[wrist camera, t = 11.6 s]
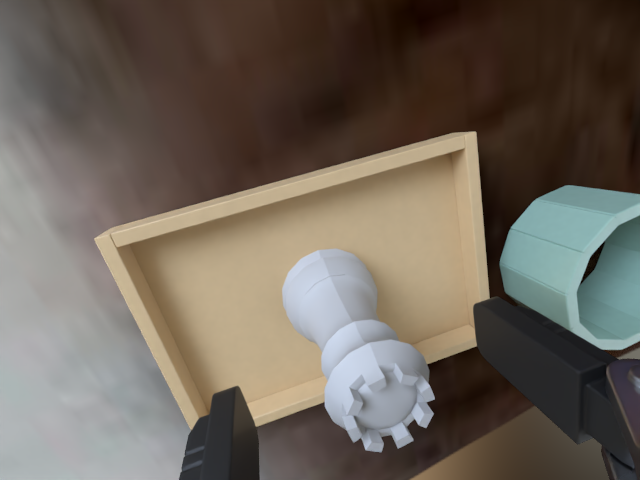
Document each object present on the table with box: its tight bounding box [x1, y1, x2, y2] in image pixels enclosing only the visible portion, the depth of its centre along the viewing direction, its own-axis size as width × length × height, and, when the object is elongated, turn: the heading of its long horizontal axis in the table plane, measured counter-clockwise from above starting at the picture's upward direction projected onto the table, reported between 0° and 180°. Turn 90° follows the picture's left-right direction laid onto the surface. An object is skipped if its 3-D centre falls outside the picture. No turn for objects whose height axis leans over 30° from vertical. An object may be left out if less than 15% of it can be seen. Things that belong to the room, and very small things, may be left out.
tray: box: [94, 132, 490, 431], centre depth 16 cm, size 16×11×2 cm
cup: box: [499, 185, 640, 350], centre depth 17 cm, size 8×8×4 cm
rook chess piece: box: [282, 249, 435, 452], centre depth 12 cm, size 4×4×8 cm
